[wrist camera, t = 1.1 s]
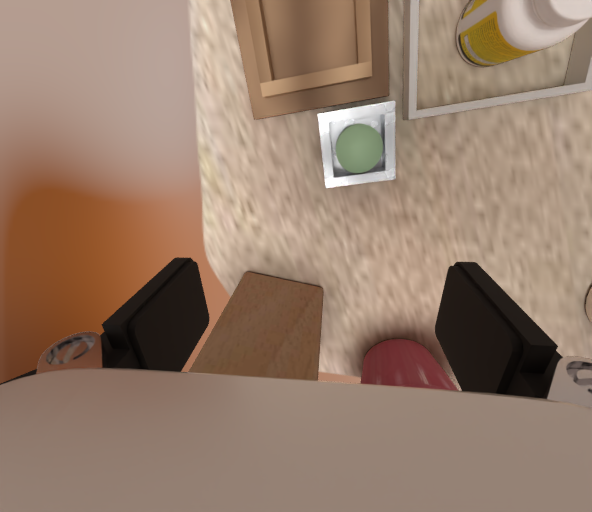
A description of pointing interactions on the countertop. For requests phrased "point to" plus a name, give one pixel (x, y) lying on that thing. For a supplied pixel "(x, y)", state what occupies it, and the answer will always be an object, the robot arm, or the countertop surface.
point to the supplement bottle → (516, 27)
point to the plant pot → (404, 366)
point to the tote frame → (580, 77)
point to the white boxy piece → (337, 121)
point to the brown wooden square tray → (312, 52)
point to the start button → (359, 148)
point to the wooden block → (266, 331)
